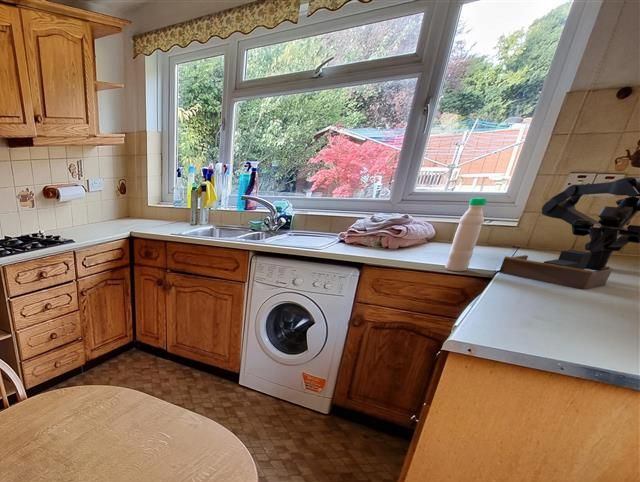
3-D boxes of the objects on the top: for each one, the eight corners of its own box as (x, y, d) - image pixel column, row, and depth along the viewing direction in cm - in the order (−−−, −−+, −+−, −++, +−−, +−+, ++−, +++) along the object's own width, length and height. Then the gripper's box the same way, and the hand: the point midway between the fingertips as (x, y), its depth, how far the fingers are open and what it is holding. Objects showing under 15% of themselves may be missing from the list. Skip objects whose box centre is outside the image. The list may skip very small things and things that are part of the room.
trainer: (560, 272, 156) (570, 249, 152) (581, 276, 150) (592, 252, 147) (536, 276, 152) (546, 253, 148) (558, 280, 146) (569, 256, 143)
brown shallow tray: (519, 268, 162) (525, 253, 159) (604, 284, 141) (613, 267, 138) (498, 272, 158) (504, 256, 155) (583, 289, 137) (591, 271, 135)
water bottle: (460, 272, 159) (484, 199, 147) (440, 269, 164) (462, 198, 153) (470, 270, 162) (495, 198, 150) (451, 266, 167) (473, 196, 155)
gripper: (587, 194, 152) (554, 230, 153) (661, 199, 136) (623, 239, 138) (589, 216, 158) (557, 250, 160) (660, 223, 143) (623, 261, 144)
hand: (588, 250), depth 150 cm, fingers closed
